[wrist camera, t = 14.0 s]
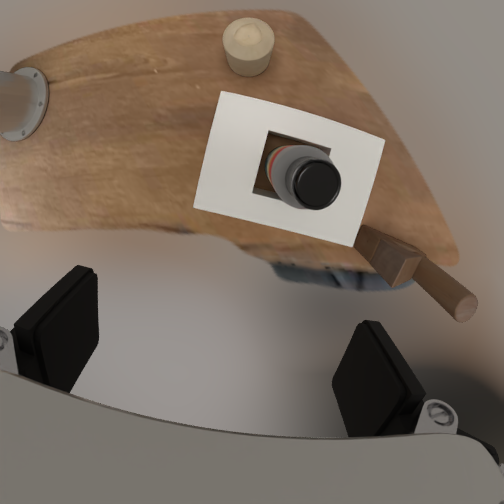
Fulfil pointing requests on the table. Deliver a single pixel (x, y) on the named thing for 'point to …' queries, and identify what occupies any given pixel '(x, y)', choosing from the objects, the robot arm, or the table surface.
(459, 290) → the brown block with handle
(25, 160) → the table surface
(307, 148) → the lotion bottle
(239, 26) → the candle
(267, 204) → the bottle caddy
